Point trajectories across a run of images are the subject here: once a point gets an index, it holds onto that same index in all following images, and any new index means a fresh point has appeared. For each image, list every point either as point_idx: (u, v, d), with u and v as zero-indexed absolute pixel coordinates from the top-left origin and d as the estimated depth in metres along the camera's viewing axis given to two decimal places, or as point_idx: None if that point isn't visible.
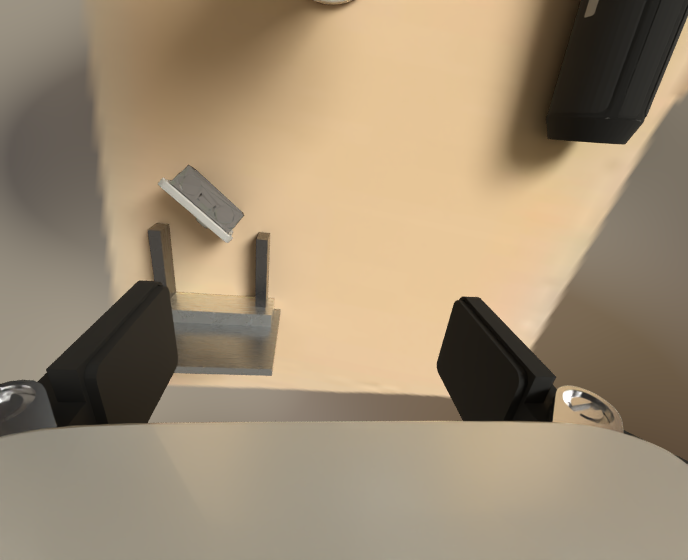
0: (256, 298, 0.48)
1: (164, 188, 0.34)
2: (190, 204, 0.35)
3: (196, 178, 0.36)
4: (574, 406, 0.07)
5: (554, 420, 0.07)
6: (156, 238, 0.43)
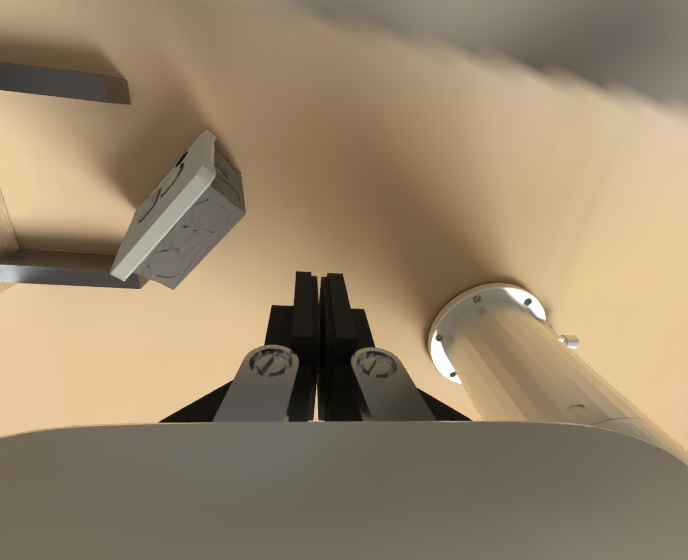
0: (10, 266, 0.25)
1: (194, 181, 0.18)
2: (172, 222, 0.19)
3: (224, 224, 0.21)
4: (368, 369, 0.07)
5: (366, 398, 0.07)
6: (86, 90, 0.21)
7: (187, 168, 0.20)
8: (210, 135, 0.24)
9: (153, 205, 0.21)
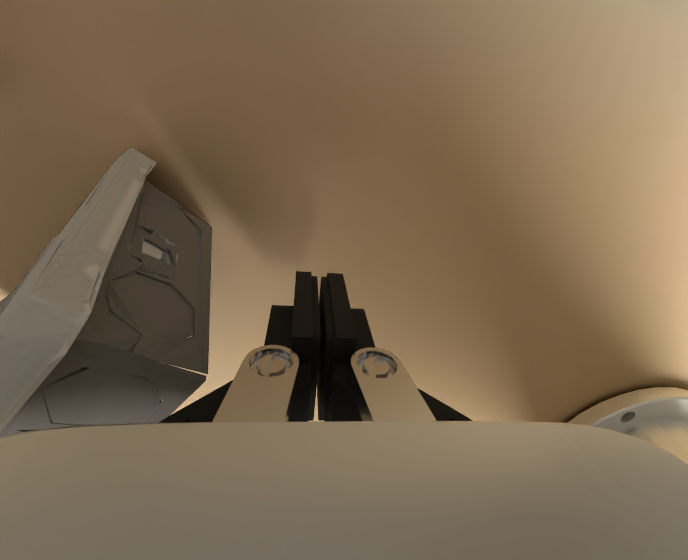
0: None
1: (1, 353, 0.05)
2: None
3: (150, 408, 0.08)
4: (368, 370, 0.07)
5: (366, 398, 0.07)
6: None
7: None
8: (137, 160, 0.11)
9: None
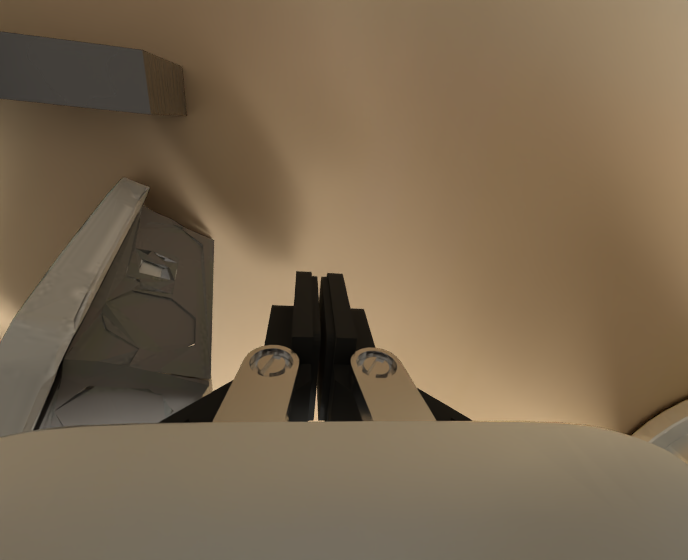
0: None
1: None
2: None
3: None
4: (368, 369, 0.07)
5: (366, 398, 0.07)
6: (102, 87, 0.09)
7: None
8: (129, 188, 0.11)
9: None
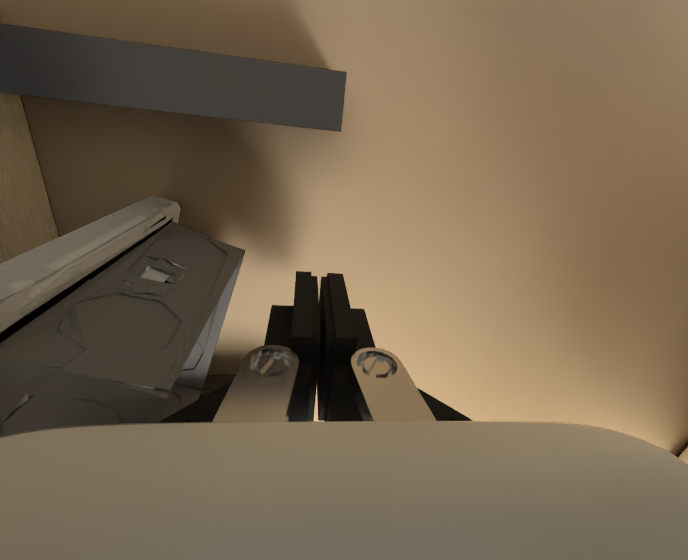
0: None
1: None
2: None
3: None
4: (368, 369, 0.07)
5: (366, 398, 0.07)
6: (302, 106, 0.09)
7: None
8: (154, 203, 0.11)
9: None
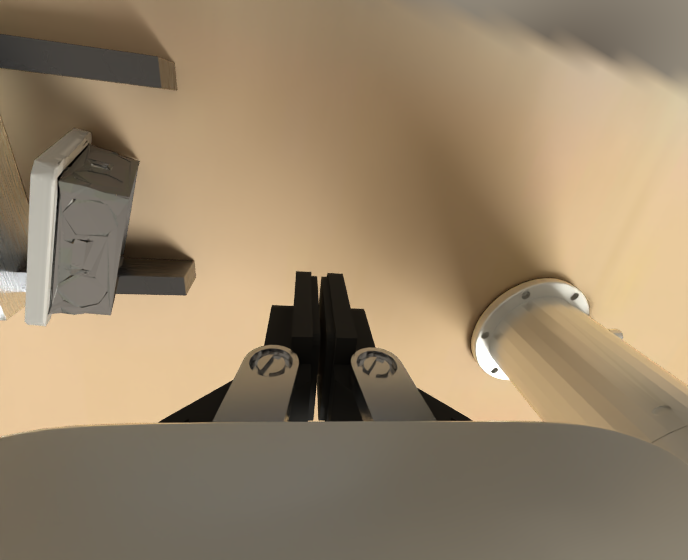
0: None
1: (34, 182, 0.15)
2: (46, 241, 0.16)
3: (113, 221, 0.17)
4: (368, 369, 0.07)
5: (366, 398, 0.07)
6: (137, 74, 0.18)
7: None
8: (78, 132, 0.20)
9: None
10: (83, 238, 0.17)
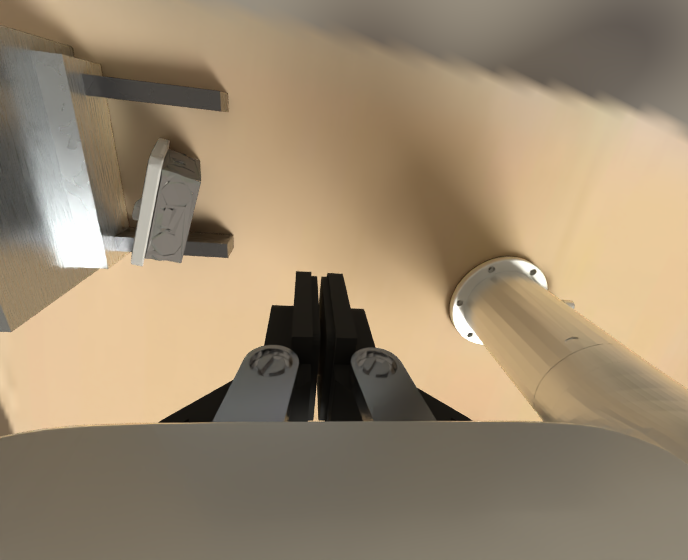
0: (130, 239, 0.32)
1: (150, 169, 0.24)
2: (151, 207, 0.25)
3: (190, 196, 0.27)
4: (368, 369, 0.07)
5: (366, 398, 0.07)
6: (206, 102, 0.28)
7: None
8: (163, 140, 0.30)
9: None
10: (170, 207, 0.27)
